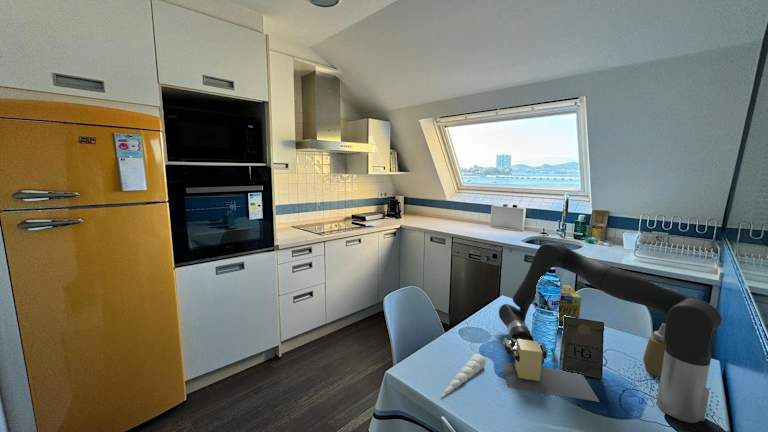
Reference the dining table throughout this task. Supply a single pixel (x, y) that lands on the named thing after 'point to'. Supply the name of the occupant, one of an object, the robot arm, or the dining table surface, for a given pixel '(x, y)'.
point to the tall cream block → (529, 360)
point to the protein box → (569, 303)
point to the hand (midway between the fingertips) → (530, 360)
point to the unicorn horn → (466, 373)
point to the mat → (551, 383)
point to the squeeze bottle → (655, 352)
